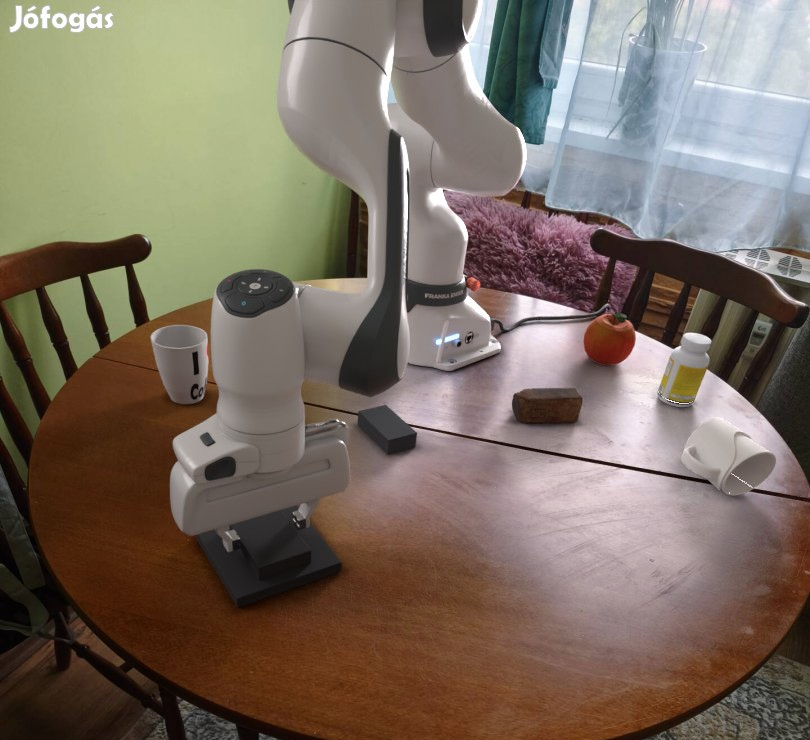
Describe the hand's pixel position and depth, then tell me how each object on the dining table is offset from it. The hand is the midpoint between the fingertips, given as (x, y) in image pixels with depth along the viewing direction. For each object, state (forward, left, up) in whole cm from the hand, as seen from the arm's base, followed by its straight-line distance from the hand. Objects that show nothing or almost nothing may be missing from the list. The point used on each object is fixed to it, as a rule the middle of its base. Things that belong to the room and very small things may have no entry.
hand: (267, 536), depth 81 cm
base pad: (0, 0, -3) cm, 3 cm away
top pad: (-27, -17, -3) cm, 32 cm away
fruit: (-80, -23, -3) cm, 83 cm away
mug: (-66, +14, -3) cm, 68 cm away
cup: (-4, -40, -3) cm, 40 cm away
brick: (-54, -11, -3) cm, 55 cm away
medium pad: (0, 0, -1) cm, 1 cm away
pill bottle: (-81, -6, -3) cm, 81 cm away
